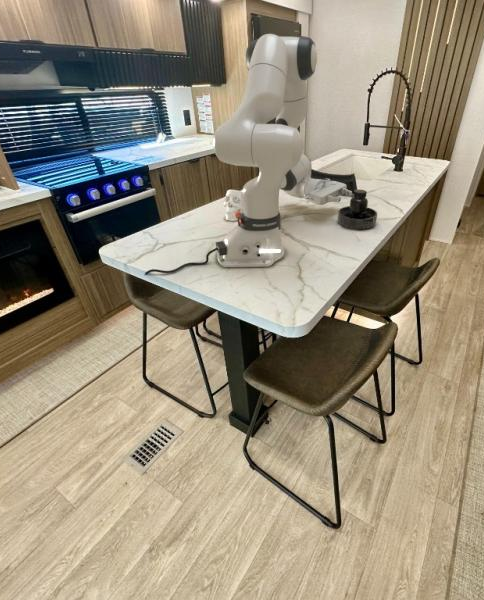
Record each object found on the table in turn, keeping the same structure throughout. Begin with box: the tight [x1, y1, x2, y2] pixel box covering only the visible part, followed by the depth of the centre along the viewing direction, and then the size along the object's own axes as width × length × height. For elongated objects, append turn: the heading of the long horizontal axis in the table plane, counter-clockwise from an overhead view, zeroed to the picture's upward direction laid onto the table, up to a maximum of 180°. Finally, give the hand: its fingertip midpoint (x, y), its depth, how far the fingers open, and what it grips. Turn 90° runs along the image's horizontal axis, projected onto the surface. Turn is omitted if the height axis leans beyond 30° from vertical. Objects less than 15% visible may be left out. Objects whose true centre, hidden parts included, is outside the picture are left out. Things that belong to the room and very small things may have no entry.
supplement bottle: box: [348, 189, 369, 219], centre depth 127 cm, size 7×7×12 cm
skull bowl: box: [223, 189, 244, 222], centre depth 137 cm, size 10×14×12 cm
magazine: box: [311, 168, 358, 195], centre depth 161 cm, size 17×3×30 cm
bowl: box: [337, 205, 379, 230], centre depth 130 cm, size 15×15×4 cm
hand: (345, 196), depth 129 cm, fingers open, 8 cm apart
